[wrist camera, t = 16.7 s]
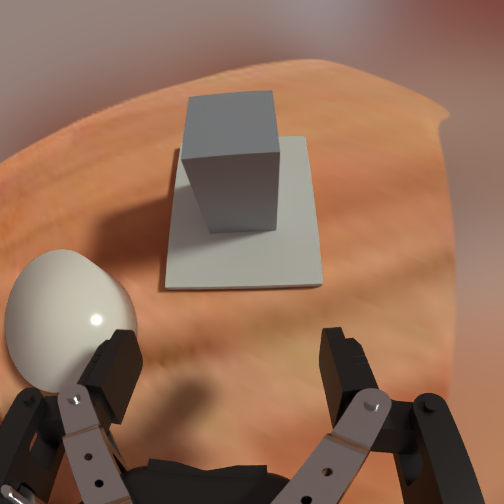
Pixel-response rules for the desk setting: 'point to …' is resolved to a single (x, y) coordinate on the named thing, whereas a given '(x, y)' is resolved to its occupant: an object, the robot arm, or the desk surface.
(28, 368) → the white round part
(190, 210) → the rubber mat
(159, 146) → the desk surface
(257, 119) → the cap block
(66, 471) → the desk surface
